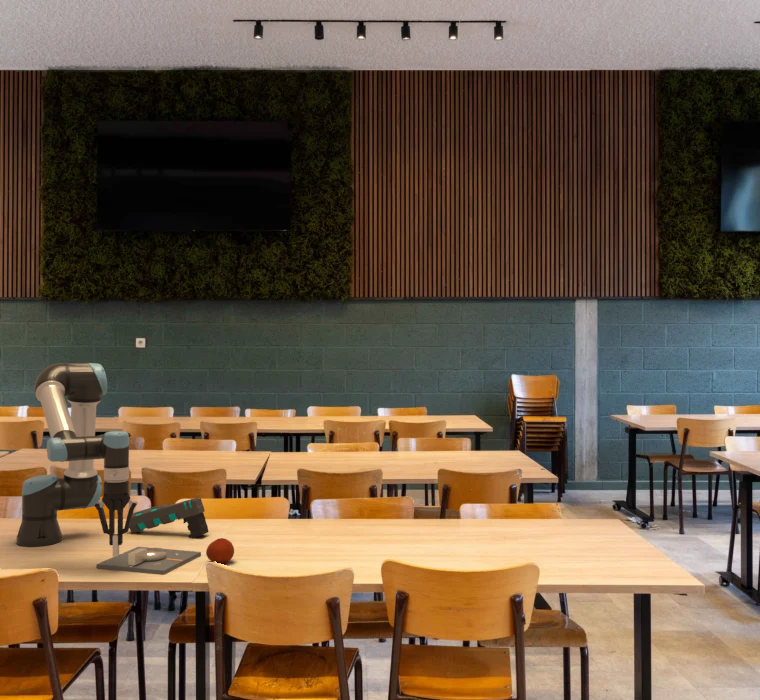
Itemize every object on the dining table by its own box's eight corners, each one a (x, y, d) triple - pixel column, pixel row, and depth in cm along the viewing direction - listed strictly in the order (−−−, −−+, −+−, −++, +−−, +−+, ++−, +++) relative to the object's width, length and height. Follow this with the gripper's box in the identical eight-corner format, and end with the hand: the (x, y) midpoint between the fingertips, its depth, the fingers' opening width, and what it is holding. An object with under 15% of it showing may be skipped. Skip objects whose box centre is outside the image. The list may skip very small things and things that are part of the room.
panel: (96, 568, 258) (96, 563, 258) (138, 550, 282) (138, 546, 282) (163, 574, 252) (163, 570, 252) (200, 555, 275) (200, 551, 275)
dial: (145, 552, 273) (145, 540, 273) (171, 555, 270) (171, 543, 270) (117, 565, 258) (117, 552, 258) (145, 567, 255) (145, 554, 255)
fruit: (224, 557, 273) (224, 533, 273) (238, 563, 266) (238, 538, 266) (201, 561, 267) (201, 537, 267) (214, 567, 261) (214, 542, 260)
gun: (204, 535, 298) (193, 495, 299) (134, 555, 304) (123, 516, 305) (212, 531, 305) (200, 492, 306) (143, 550, 311) (132, 512, 312)
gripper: (92, 482, 253) (91, 558, 253) (135, 482, 254) (135, 557, 254) (97, 479, 260) (97, 553, 260) (139, 478, 262) (139, 552, 262)
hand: (115, 555), depth 257 cm, fingers closed
